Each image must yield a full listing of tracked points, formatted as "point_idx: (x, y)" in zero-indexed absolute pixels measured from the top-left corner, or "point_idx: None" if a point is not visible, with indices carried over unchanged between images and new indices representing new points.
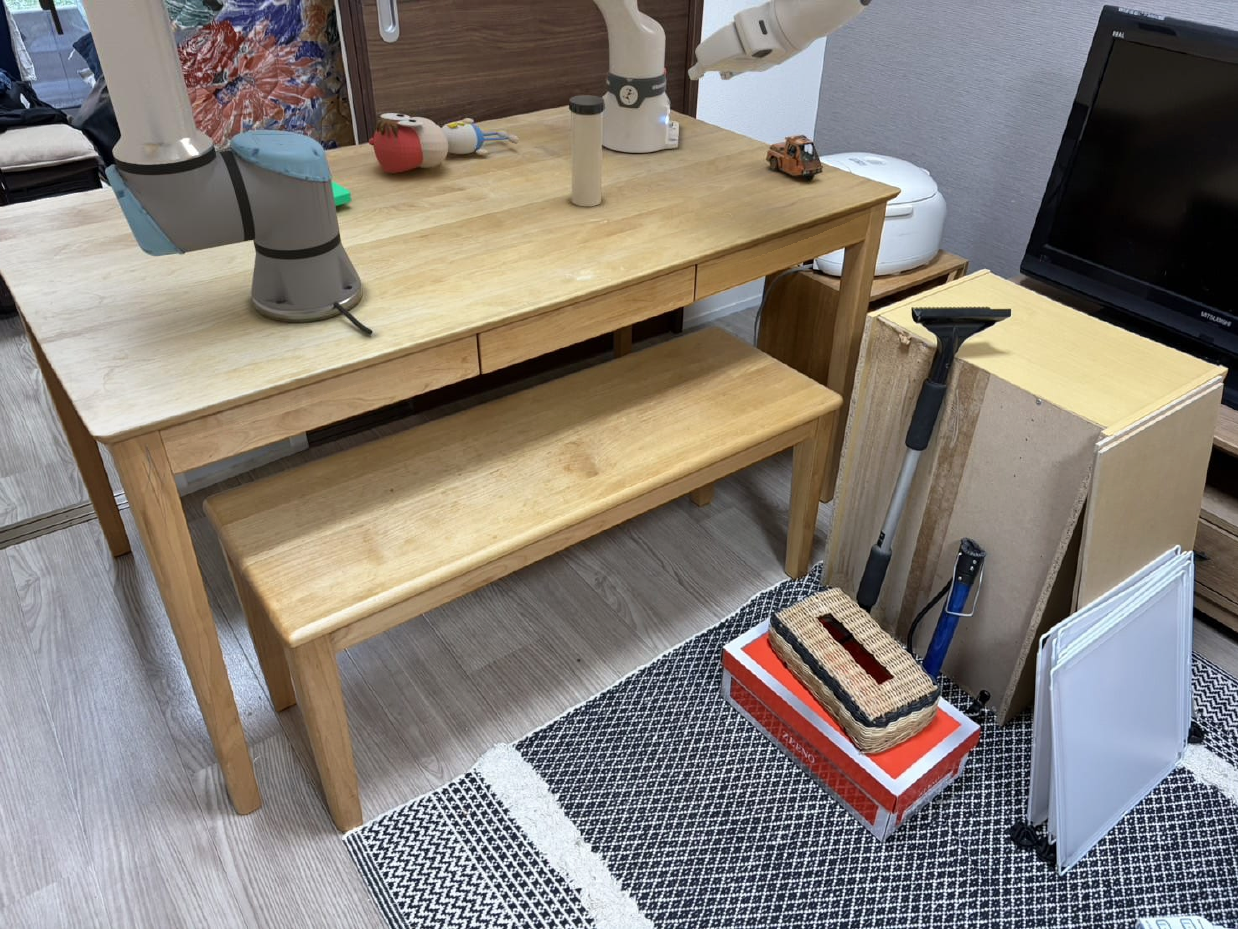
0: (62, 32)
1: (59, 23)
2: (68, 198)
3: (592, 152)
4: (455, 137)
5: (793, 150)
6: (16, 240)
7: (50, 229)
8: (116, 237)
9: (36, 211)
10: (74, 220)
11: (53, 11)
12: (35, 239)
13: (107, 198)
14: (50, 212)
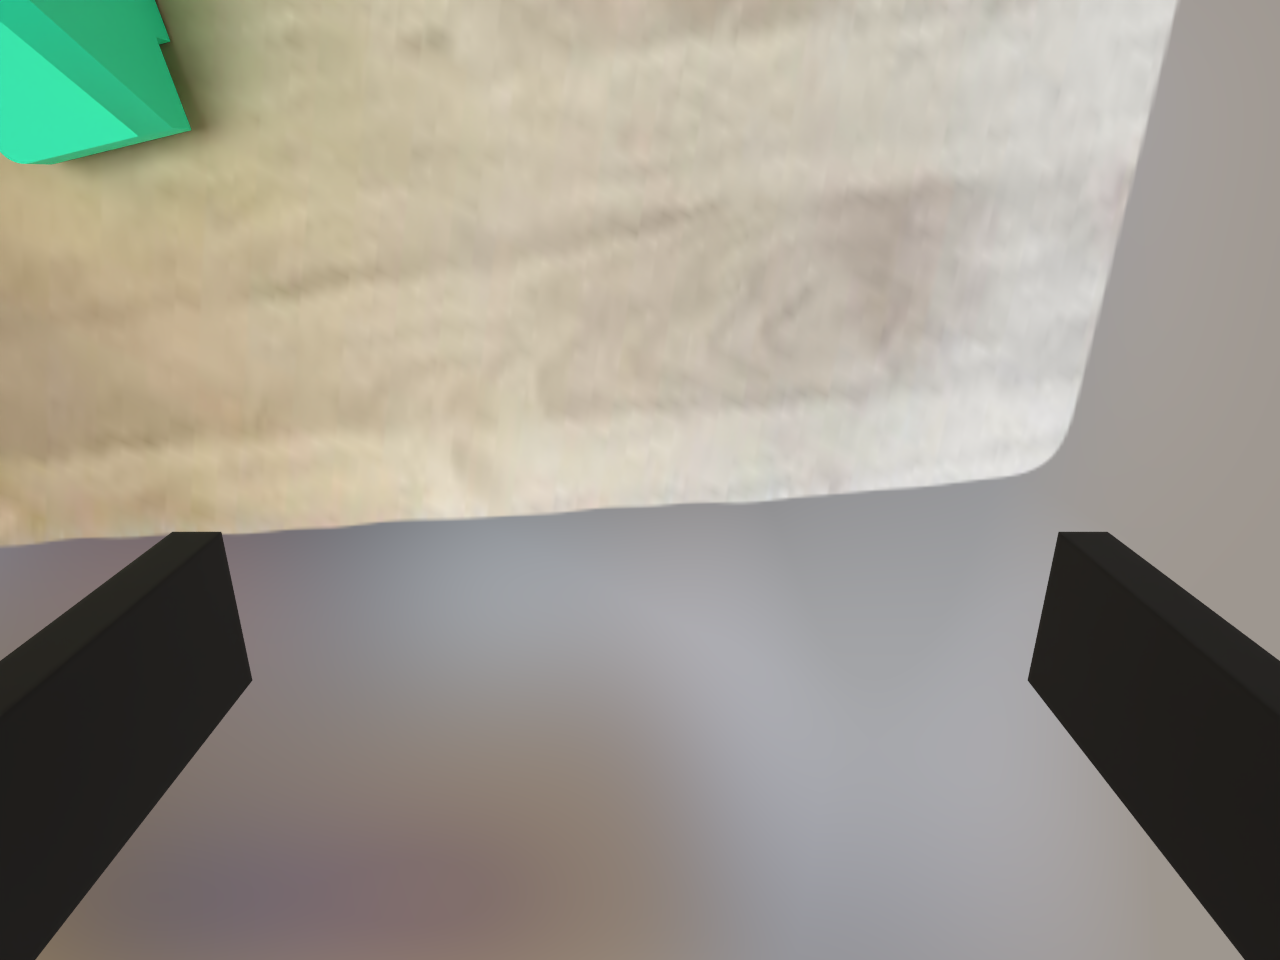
0: (1073, 541)
1: (1124, 580)
2: (892, 471)
3: None
4: None
5: None
6: (1125, 147)
7: (1006, 203)
8: (829, 2)
9: (1004, 397)
10: (919, 255)
11: (1239, 647)
12: (1071, 125)
13: (783, 418)
14: (968, 368)
